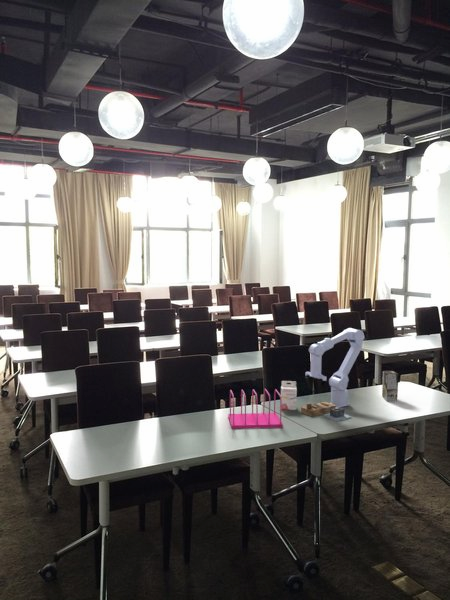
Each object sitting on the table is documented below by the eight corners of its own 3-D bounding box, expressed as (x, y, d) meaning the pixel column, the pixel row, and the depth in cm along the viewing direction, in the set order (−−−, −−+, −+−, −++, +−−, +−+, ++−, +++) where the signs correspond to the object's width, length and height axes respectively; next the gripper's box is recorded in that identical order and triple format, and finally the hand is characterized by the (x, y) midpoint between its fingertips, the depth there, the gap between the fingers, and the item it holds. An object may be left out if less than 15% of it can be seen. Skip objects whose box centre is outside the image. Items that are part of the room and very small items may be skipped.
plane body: (325, 407, 275) (325, 397, 275) (336, 410, 269) (336, 401, 268) (300, 412, 266) (301, 402, 265) (311, 416, 259) (311, 406, 258)
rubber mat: (337, 412, 266) (337, 411, 265) (351, 417, 257) (351, 416, 257) (323, 415, 260) (323, 414, 260) (337, 421, 252) (337, 420, 252)
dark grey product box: (338, 413, 262) (338, 405, 262) (344, 415, 258) (344, 407, 258) (329, 415, 259) (330, 407, 258) (336, 417, 255) (336, 409, 255)
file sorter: (228, 417, 258) (228, 387, 256) (276, 416, 260) (276, 386, 258) (231, 429, 240) (231, 396, 239) (283, 427, 242) (283, 395, 241)
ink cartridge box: (280, 409, 271) (280, 382, 269) (280, 406, 275) (280, 380, 274) (296, 410, 270) (297, 383, 268) (296, 407, 275) (296, 381, 273)
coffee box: (397, 401, 286) (398, 374, 285) (386, 401, 286) (387, 373, 285) (392, 397, 295) (393, 370, 294) (381, 397, 295) (382, 370, 294)
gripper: (301, 364, 276) (300, 389, 277) (319, 369, 264) (319, 395, 265) (310, 363, 280) (310, 387, 281) (329, 368, 267) (329, 393, 269)
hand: (315, 391), depth 273 cm, fingers open, 7 cm apart
